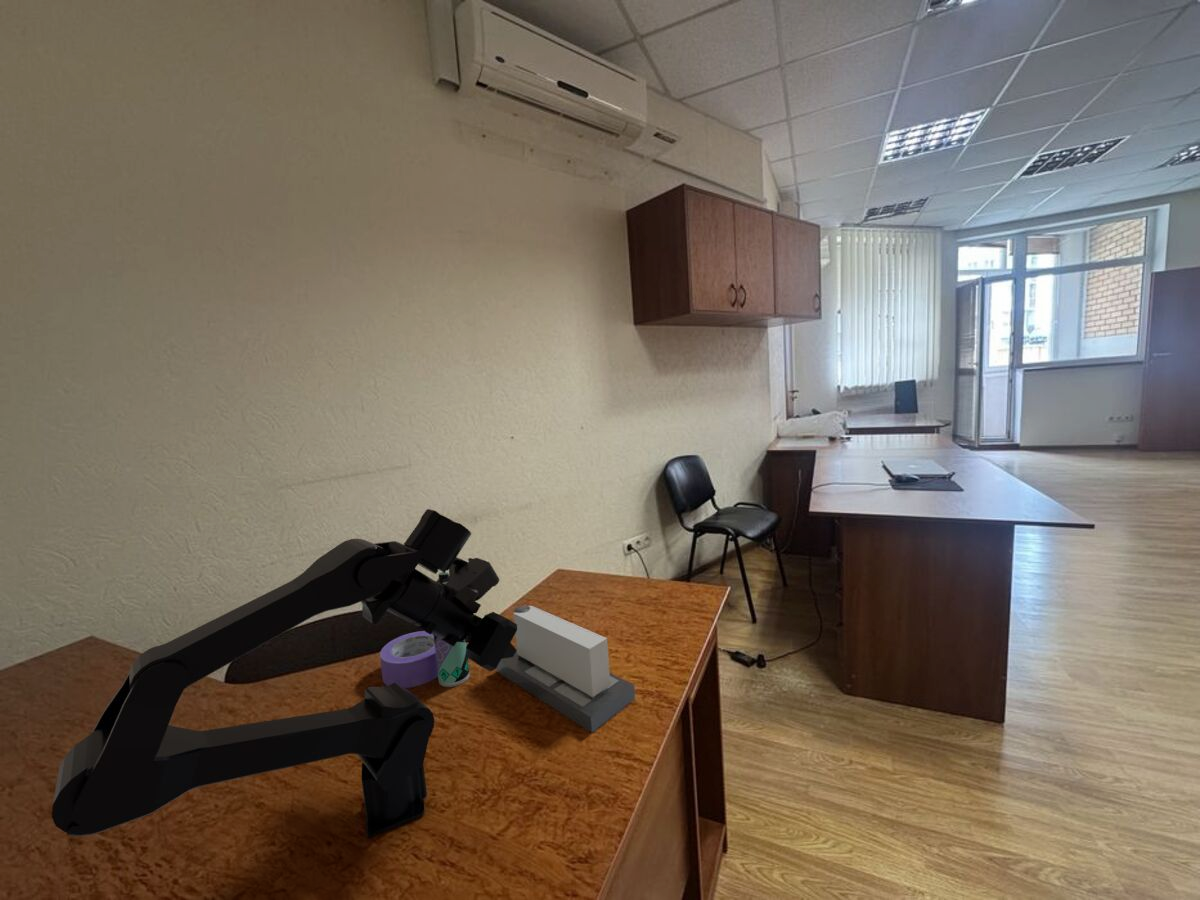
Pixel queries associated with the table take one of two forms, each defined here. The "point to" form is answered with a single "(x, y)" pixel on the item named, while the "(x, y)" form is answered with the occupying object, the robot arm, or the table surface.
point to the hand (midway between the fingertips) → (502, 646)
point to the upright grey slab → (563, 649)
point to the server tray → (568, 693)
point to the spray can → (450, 656)
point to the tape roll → (409, 660)
